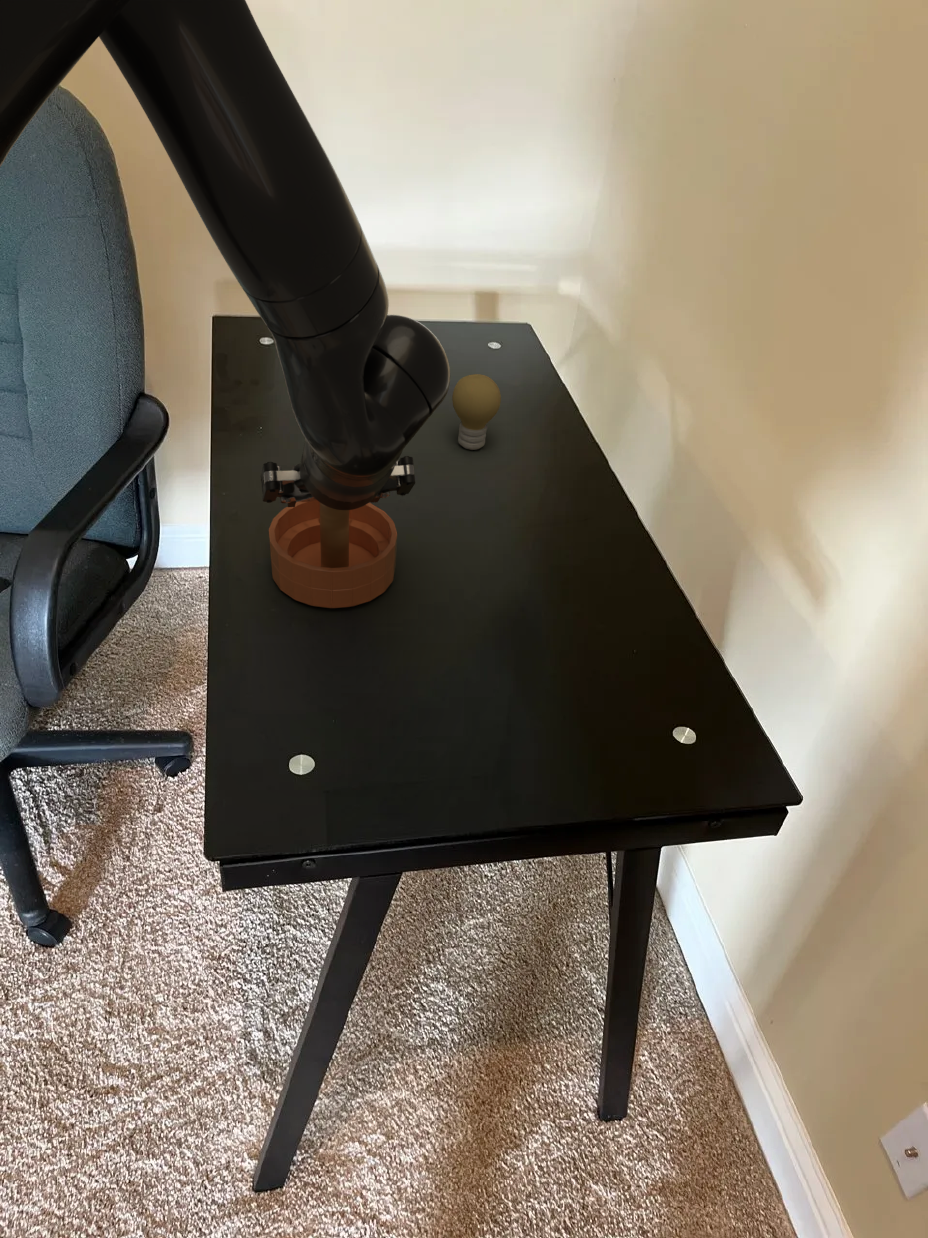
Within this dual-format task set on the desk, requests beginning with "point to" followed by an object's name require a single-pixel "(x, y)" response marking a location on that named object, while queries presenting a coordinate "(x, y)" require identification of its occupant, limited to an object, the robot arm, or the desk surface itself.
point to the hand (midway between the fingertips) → (331, 494)
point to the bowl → (332, 587)
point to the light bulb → (475, 408)
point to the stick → (334, 537)
